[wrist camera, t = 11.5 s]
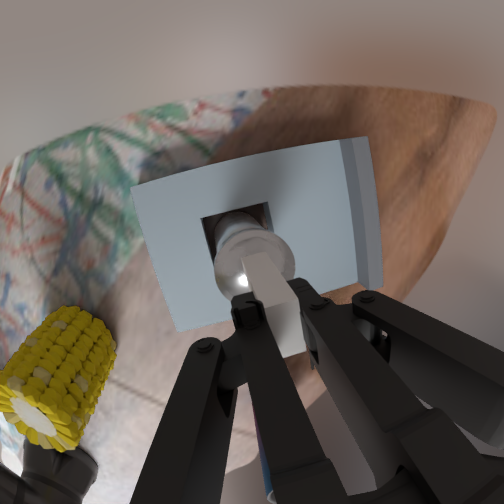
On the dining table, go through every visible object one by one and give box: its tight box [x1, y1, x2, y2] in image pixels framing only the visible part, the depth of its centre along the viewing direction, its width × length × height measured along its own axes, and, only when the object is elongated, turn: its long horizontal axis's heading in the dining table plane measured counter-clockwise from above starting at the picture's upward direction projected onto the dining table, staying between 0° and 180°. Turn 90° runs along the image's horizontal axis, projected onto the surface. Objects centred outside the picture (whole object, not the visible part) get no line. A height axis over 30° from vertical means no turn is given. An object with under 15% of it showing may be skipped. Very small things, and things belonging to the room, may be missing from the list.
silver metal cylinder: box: [214, 212, 295, 302], centre depth 23 cm, size 5×5×10 cm
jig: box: [130, 136, 383, 332], centre depth 26 cm, size 20×14×5 cm
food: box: [0, 305, 117, 452], centre depth 22 cm, size 15×12×10 cm
